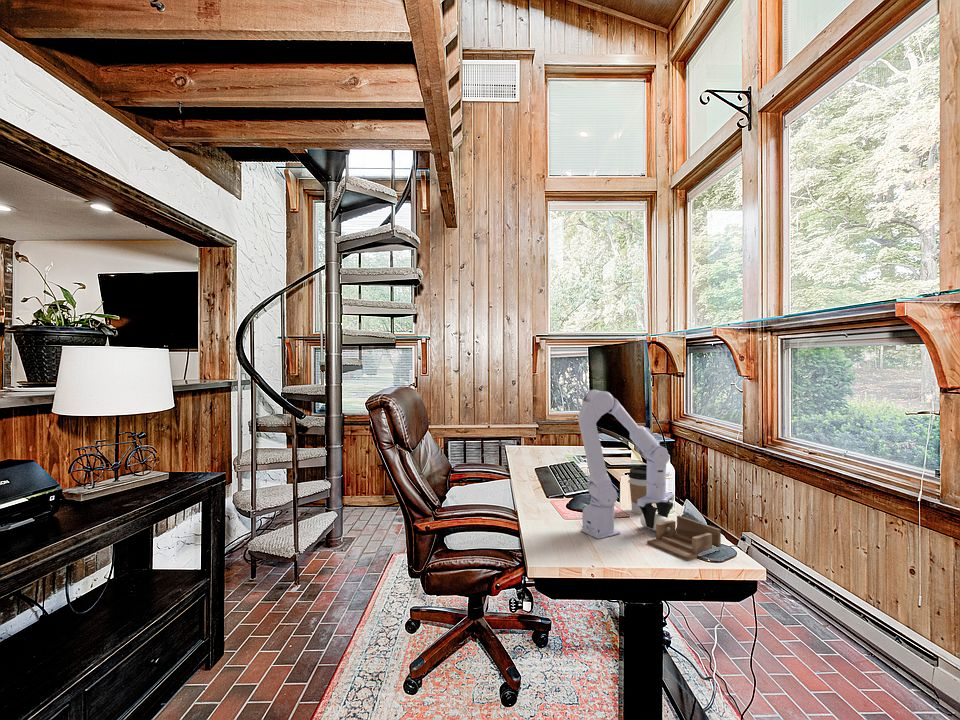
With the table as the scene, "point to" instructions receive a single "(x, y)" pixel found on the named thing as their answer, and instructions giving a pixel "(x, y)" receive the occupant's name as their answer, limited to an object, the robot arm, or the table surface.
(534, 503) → the table surface
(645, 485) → the coffee cup
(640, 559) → the table surface
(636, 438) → the robot arm
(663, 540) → the holder
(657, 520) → the roll
